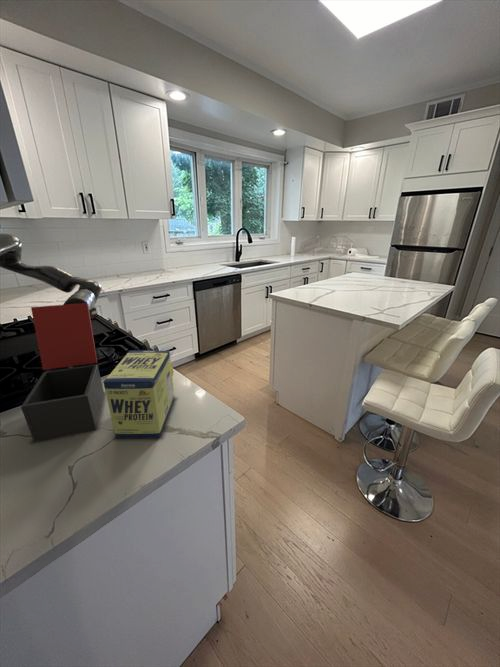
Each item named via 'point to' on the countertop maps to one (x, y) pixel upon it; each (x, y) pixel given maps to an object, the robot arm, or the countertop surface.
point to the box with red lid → (64, 402)
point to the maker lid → (64, 335)
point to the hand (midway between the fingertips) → (66, 323)
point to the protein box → (140, 394)
